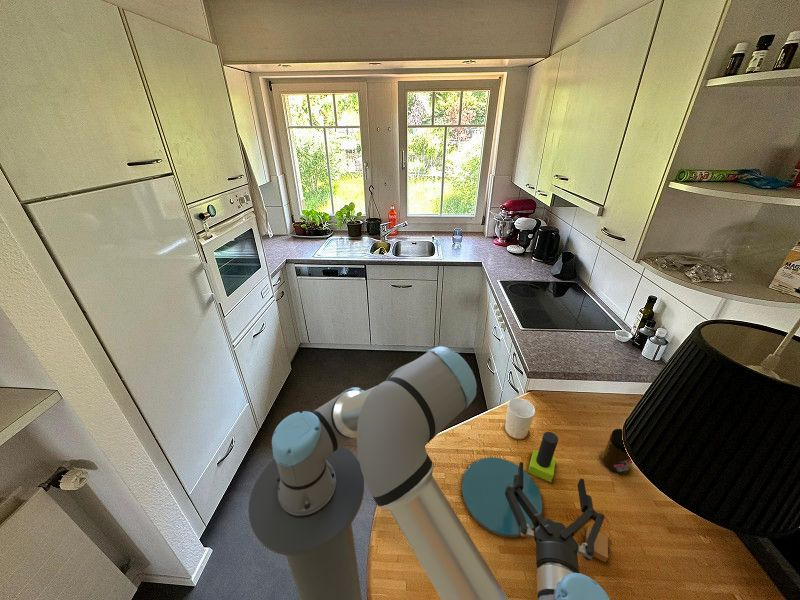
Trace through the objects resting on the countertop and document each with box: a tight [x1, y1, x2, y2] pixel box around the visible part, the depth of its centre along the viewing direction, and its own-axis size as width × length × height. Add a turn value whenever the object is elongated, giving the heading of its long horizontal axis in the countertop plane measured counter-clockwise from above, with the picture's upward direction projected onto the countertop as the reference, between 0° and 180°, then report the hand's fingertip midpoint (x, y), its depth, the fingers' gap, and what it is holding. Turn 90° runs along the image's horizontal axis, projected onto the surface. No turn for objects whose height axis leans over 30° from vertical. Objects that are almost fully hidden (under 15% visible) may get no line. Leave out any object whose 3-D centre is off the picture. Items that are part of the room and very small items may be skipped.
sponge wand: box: [527, 431, 559, 483], centre depth 88 cm, size 6×6×13 cm
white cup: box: [504, 397, 536, 440], centre depth 100 cm, size 8×8×10 cm
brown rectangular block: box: [585, 526, 609, 563], centre depth 73 cm, size 4×5×2 cm
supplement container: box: [601, 428, 633, 474], centre depth 90 cm, size 7×7×10 cm
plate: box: [461, 457, 543, 538], centre depth 84 cm, size 20×20×1 cm
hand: (549, 473), depth 79 cm, fingers open, 13 cm apart
